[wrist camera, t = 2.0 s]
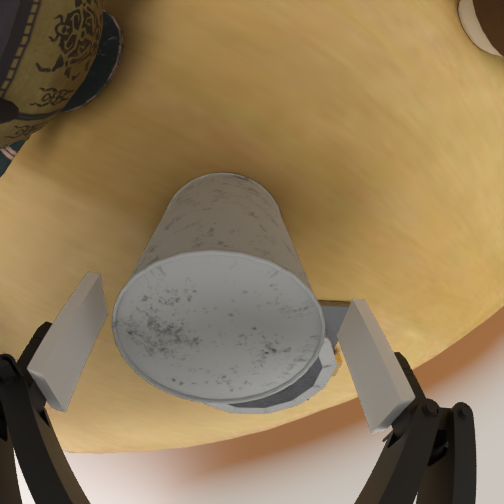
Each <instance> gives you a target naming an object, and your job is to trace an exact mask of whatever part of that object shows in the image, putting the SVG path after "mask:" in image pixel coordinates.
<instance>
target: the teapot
mask: <svg viewBox="0 0 504 504" xmlns="http://www.w3.org/2000/svg"><path fill="white" fill-rule="evenodd" d="M122 51H123V36H122V30H121V28H120V26H119V24H118V22H117V20H116V19H115V18H114V17H113V16H112V15H110V14H109V13H108V12H106V11H105V10H103V0H0V149H1V150H0V177H1V176H2V175H3V174H4V173H5V171H6V169H7V168H8V166H9V165H10V163H11V162H12V160H13V159H14V157H15V156H16V154H17V153H18V151H19V150H20V148H21V147H22V146H23V144H24V143H25V142H26V141H27V140H28V139H29V138H30V136H31V134H32V133H34V132H36V131H38V130H40V129H42V128H43V127H44V126H45V125H46V124H47V123H48V122H49V121H50V120H51V119H53V118H54V117H55V116H56V115H57V114H58V113H59V112H70V111H73V110H75V109H78V108H81V107H84V106H86V105H87V104H88V103H90V102H91V101H92V100H94V99H95V98H96V97H98V96H99V95H100V94H101V92H102V91H103V90H104V89H105V88H106V86H107V85H108V84H109V83H110V82H111V80H112V78H113V76H114V74H115V72H116V70H117V68H118V66H119V64H120V60H121V55H122Z"/></svg>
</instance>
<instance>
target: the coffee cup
mask: <svg viewBox="0 0 504 504" xmlns="http://www.w3.org/2000/svg"><path fill="white" fill-rule="evenodd" d="M458 13H459V17H460V21H461V23H462V26H463V28H464V30H465V32H466V33H467V35H468V36H469V38H470V39H471V41H472V42H473V43H475V44H476V45H477V46H478V47H479V48H480V49H482V50H484V51H486V52H488V53H490V54H493V55H498V56H502V57H504V0H460V2H459V7H458Z"/></svg>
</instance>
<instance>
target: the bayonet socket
mask: <svg viewBox="0 0 504 504" xmlns="http://www.w3.org/2000/svg"><path fill="white" fill-rule="evenodd" d="M318 302H319V304H320V305H321V308H322V312H323V317H324V321H325V335H324V343H323V346H322V348H321V350H320V353H319V355H318V358H317V359H316V361H315V362H314V363H313V365H312V366H311V367H310V368H309V370H308V371H307V372H306V373H305V374H304V375H303V376H302V377H300V378H299V379H298V380H297V381H296V382H294V383H293V384H291V385H290V386H288V387H286V388H284V389H283V390H281V391H279V392H277V393H275V394H272V395H269V396H267V397H264V398H261V399H257V400H253V401H248V402H243V403H232V404H212V403H204V404H206V405H209V406H212V407H215V408H218V409H220V410H223V411H226V412H229V413H236V414H268V413H272V412H276V411H279V410H283V409H287V408H290V407H294V406H297V405H298V404H299V405H300V404H301V403H303V402H304V401H306V400H309V398H310V397H312V396H313V395H315V394H316V393H318V392H319V391H320V390H322V389H323V388H324V387H325V386H326V384H327V382H328V381H329V379H330V377H331V376H335V375H336V373H337V371H338V369H339V368H340V366H341V364H342V360H341V357H340V355H334V352H333V350H334V348H335V346H336V344H337V341H338V338H337V334H338V332H339V330H340V327H341V325H342V323H343V320H344V318H345V316H346V313H347V311H348V309H349V306H350V304H351V303H350V302H336V301H318Z"/></svg>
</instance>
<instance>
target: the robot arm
mask: <svg viewBox="0 0 504 504" xmlns="http://www.w3.org/2000/svg"><path fill="white" fill-rule="evenodd" d="M107 315H108V314H107V309H106V304H105V298H104V293H103V287H102V280H101V274H99V273H92V272H87V274H86V275H85V276H84V278H83V279H82V281H81V282H80V283H79V285H78V286H77V288H76V289H75V291H74V292H73V293H72V295H71V296H70V298H69V299H68V301H67V302H66V304H65V305H64V307H63V308H62V310H61V311H60V313H59V314H58V316H57V318H56V319H55V321H54V322H53V323H49V322H45V323H44V324H42V325H41V326H40V327H39V328H38V329H37V330H36V332H35V333H34V335H33V338H31V340H30V341H29V344H28V345H27V346H26V348H25V350H24V351H23V353H22V355H21V357H20V358H19V360H18V362H17V363H16V361H15V359H14V358H13V357H12V356H11V355H9V354H0V504H22V500H21V496H20V490H19V485H18V479H17V474H16V467H15V459H14V450H15V453H16V456H17V459H18V462H19V465H20V468H21V470H22V473H23V476H24V478H25V481H26V483H27V485H28V488H29V490H30V492H31V495H32V497H33V499H34V501H35V503H36V504H90V502H89V501H88V499H87V497H86V496H85V494H84V492H83V490H82V489H81V487H80V485H79V483H78V481H77V479H76V478H75V476H74V474H73V472H72V470H71V468H70V466H69V464H68V462H67V460H66V457H65V455H64V453H63V451H62V449H61V446H60V444H59V442H58V439H57V437H56V435H55V432H54V430H53V427H52V425H51V422H50V419H49V417H48V414H47V411H46V409H45V407H44V406H45V403H46V401H47V402H48V403H49V405H50V406H51V408H54V409H57V410H59V411H62V412H65V413H66V411H67V408H68V405H69V403H70V400H71V397H72V395H73V392H74V390H75V387H76V385H77V382H78V380H79V377H80V375H81V372H82V370H83V368H84V365H85V363H86V361H87V358H88V356H89V354H90V351H91V349H92V347H93V345H94V343H95V340H96V338H97V336H98V334H99V332H100V330H101V328H102V326H103V323H104V321H105V319H106V317H107ZM337 338H338V341H339V343H340V346H341V349H342V351H343V354H344V357H345V360H346V362H347V365H348V368H349V371H350V373H351V376H352V379H353V382H354V385H355V388H356V390H357V393H358V396H359V399H360V402H361V405H362V408H363V411H364V413H365V417H366V420H367V423H368V426H369V429H370V432H371V433H376V432H381V431H385V430H386V429H387V428H388V427H389V426H390V425H392V428H393V430H392V431H391V432H390V433H389V434H388V435H387V436H386V437H385V438H384V439H383V442H384V441H386V440H387V441H386V444H385V446H384V448H383V451H382V453H381V455H380V457H379V459H378V461H377V463H376V465H375V467H374V469H373V471H372V473H371V475H370V477H369V479H368V481H367V483H366V484H365V486H364V488H363V490H362V491H361V493H360V495H359V497H358V498H357V500H356V502H355V503H354V504H413V502H414V500H415V497H416V495H417V501H416V504H475V499H476V443H475V442H476V441H475V428H474V418H473V412H472V410H471V408H470V407H469V406H468V405H467V404H466V403H463V402H458V403H457V404H455V405H454V406H453V407H452V408H441V407H439V405H438V404H437V403H436V402H435V401H433V400H431V399H428V398H427V399H426V397H425V395H424V393H423V391H422V389H421V387H420V385H419V383H418V381H417V379H416V377H415V375H414V374H413V371H412V369H410V365H409V364H408V362H407V360H406V358H405V357H404V356H403V355H402V354H401V353H400V352H393V350H392V348H391V346H390V345H389V343H388V341H387V339H386V337H385V335H384V333H383V331H382V330H381V328H380V326H379V324H378V322H377V320H376V319H375V317H374V315H373V313H372V311H371V310H370V308H369V306H368V304H367V302H366V301H365V299H352V301H351V304H350V306H349V309H348V311H347V313H346V316H345V318H344V320H343V323H342V325H341V327H340V330H339V332H338V334H337ZM13 447H14V449H13ZM417 492H418V494H417Z"/></svg>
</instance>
